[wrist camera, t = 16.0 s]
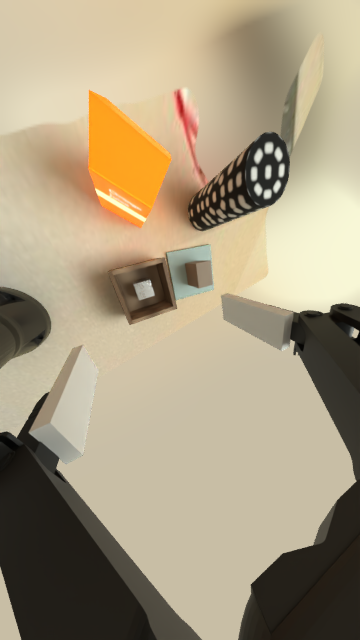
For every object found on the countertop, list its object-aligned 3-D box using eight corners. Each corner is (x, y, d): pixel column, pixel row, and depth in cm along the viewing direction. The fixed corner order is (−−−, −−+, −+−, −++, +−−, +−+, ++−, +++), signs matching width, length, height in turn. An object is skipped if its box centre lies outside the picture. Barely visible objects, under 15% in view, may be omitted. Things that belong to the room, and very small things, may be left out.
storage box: (128, 314, 41) (129, 324, 34) (110, 270, 36) (107, 272, 29) (168, 301, 44) (177, 308, 37) (156, 258, 39) (164, 257, 32)
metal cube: (137, 297, 40) (139, 300, 36) (132, 282, 38) (133, 284, 35) (151, 292, 41) (154, 295, 37) (147, 278, 39) (150, 279, 36)
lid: (174, 299, 45) (184, 306, 38) (165, 252, 40) (175, 250, 33) (211, 289, 48) (227, 293, 41) (208, 244, 43) (225, 241, 36)
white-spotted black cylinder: (217, 227, 42) (287, 202, 24) (191, 233, 40) (245, 210, 22) (214, 191, 38) (292, 130, 21) (185, 195, 36) (244, 132, 19)
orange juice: (141, 228, 36) (160, 195, 18) (100, 206, 32) (75, 136, 14) (152, 193, 34) (185, 121, 17) (111, 165, 30) (98, 31, 13)
